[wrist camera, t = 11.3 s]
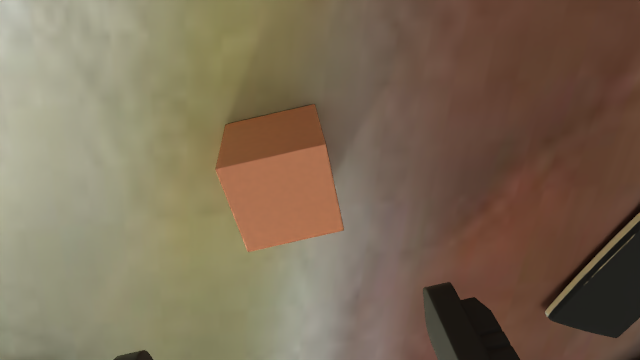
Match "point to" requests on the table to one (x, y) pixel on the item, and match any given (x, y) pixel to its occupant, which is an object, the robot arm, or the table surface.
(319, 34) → the table surface
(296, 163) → the block
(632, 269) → the smartphone
